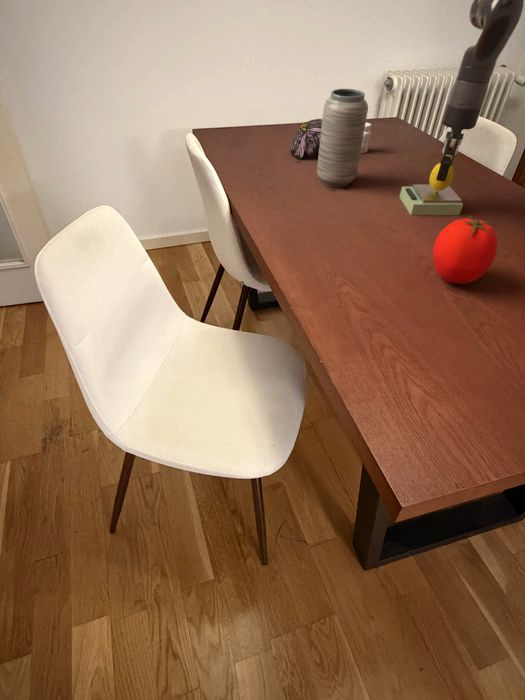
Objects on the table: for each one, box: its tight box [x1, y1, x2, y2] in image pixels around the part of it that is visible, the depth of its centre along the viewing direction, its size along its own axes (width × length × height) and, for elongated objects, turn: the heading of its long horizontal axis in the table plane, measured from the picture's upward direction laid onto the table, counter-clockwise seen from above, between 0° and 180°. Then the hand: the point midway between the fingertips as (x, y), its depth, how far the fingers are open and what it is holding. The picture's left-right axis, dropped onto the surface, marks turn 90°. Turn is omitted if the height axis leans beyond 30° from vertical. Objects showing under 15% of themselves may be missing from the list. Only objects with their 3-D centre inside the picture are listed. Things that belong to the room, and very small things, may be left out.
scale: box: [398, 186, 464, 216], centre depth 108 cm, size 13×11×4 cm
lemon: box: [428, 162, 455, 192], centre depth 104 cm, size 6×6×8 cm
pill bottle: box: [360, 122, 372, 154], centre depth 136 cm, size 5×5×8 cm
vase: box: [316, 88, 369, 188], centre depth 112 cm, size 12×12×23 cm
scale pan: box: [411, 183, 463, 203], centre depth 107 cm, size 10×10×1 cm
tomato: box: [432, 215, 498, 285], centre depth 80 cm, size 12×12×13 cm
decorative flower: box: [289, 118, 323, 161], centre depth 133 cm, size 15×12×15 cm
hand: (442, 174), depth 103 cm, fingers open, 8 cm apart
